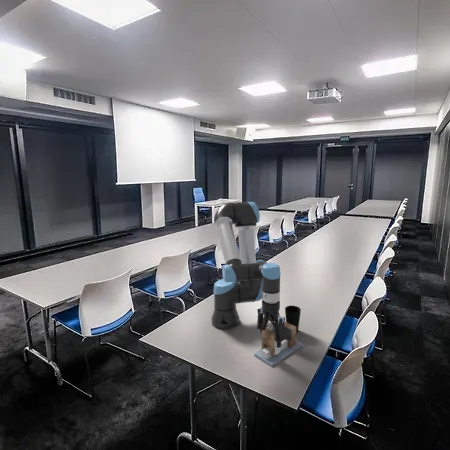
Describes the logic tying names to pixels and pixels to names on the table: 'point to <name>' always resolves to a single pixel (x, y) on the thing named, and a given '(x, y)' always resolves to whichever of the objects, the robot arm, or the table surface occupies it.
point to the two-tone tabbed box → (268, 339)
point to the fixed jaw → (290, 334)
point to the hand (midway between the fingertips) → (270, 349)
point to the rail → (284, 352)
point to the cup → (293, 316)
